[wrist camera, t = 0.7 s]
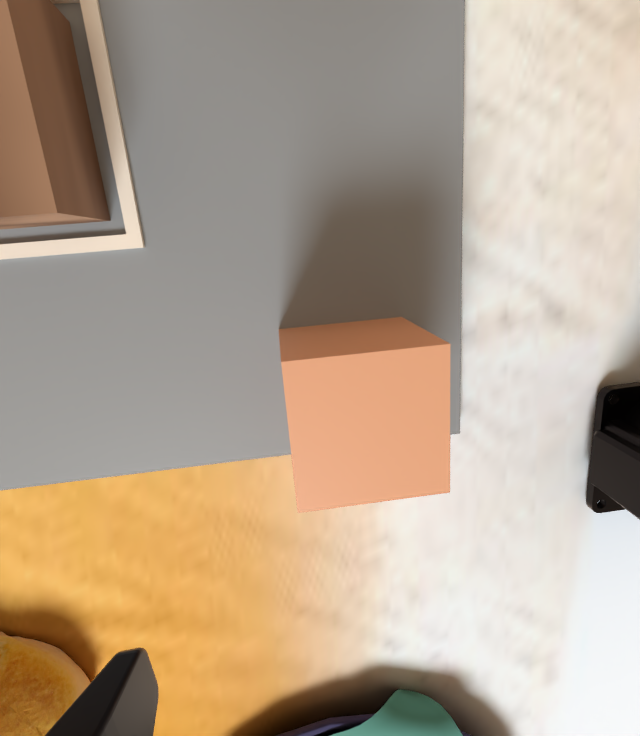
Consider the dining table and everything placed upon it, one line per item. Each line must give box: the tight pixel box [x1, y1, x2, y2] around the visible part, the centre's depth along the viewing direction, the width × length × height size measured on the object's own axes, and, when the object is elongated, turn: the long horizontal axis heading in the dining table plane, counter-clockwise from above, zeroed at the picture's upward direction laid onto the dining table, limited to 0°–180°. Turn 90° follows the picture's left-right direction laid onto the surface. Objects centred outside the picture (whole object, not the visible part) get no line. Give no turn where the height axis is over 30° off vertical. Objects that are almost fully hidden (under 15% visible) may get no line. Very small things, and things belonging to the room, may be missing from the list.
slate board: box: [0, 0, 465, 490], centre depth 16 cm, size 22×18×1 cm
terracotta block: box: [278, 317, 450, 513], centre depth 16 cm, size 5×5×5 cm
